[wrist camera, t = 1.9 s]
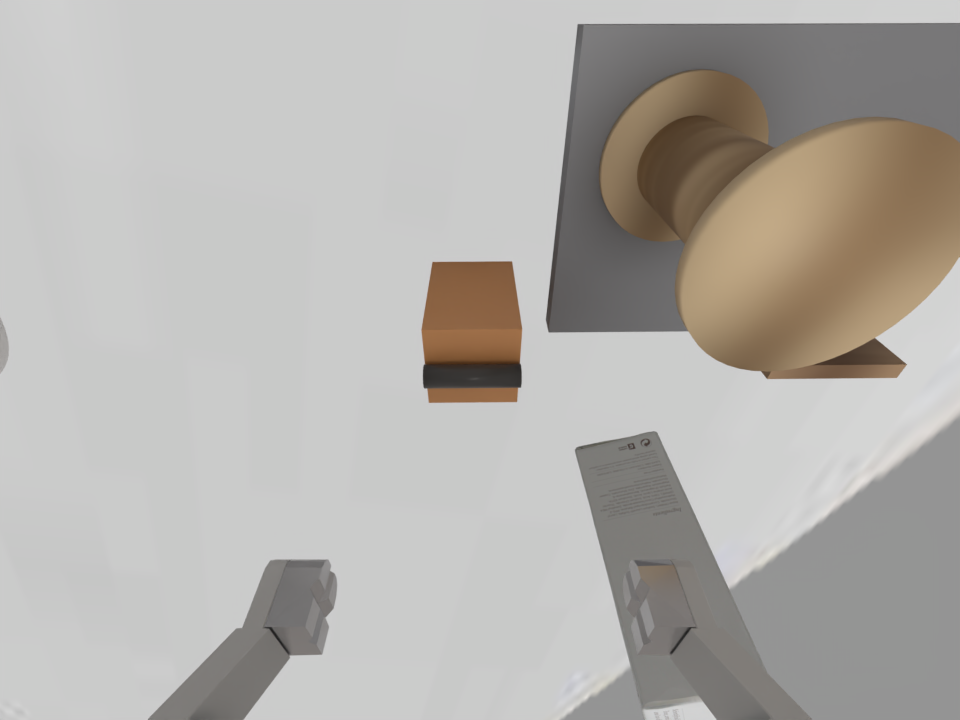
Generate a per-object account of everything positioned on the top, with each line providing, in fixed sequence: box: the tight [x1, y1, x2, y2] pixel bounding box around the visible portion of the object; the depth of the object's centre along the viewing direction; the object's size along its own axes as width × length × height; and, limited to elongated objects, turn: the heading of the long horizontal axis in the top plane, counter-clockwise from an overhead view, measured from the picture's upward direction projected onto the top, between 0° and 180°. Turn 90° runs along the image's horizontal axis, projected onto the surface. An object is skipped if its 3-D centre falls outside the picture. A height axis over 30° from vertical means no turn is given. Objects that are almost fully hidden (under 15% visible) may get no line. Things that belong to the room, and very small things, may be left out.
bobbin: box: [599, 69, 960, 372], centre depth 14 cm, size 6×6×10 cm
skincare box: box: [575, 431, 767, 720], centre depth 27 cm, size 8×6×15 cm
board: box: [546, 23, 960, 333], centre depth 20 cm, size 16×13×1 cm
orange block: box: [421, 261, 522, 403], centre depth 21 cm, size 4×4×7 cm
